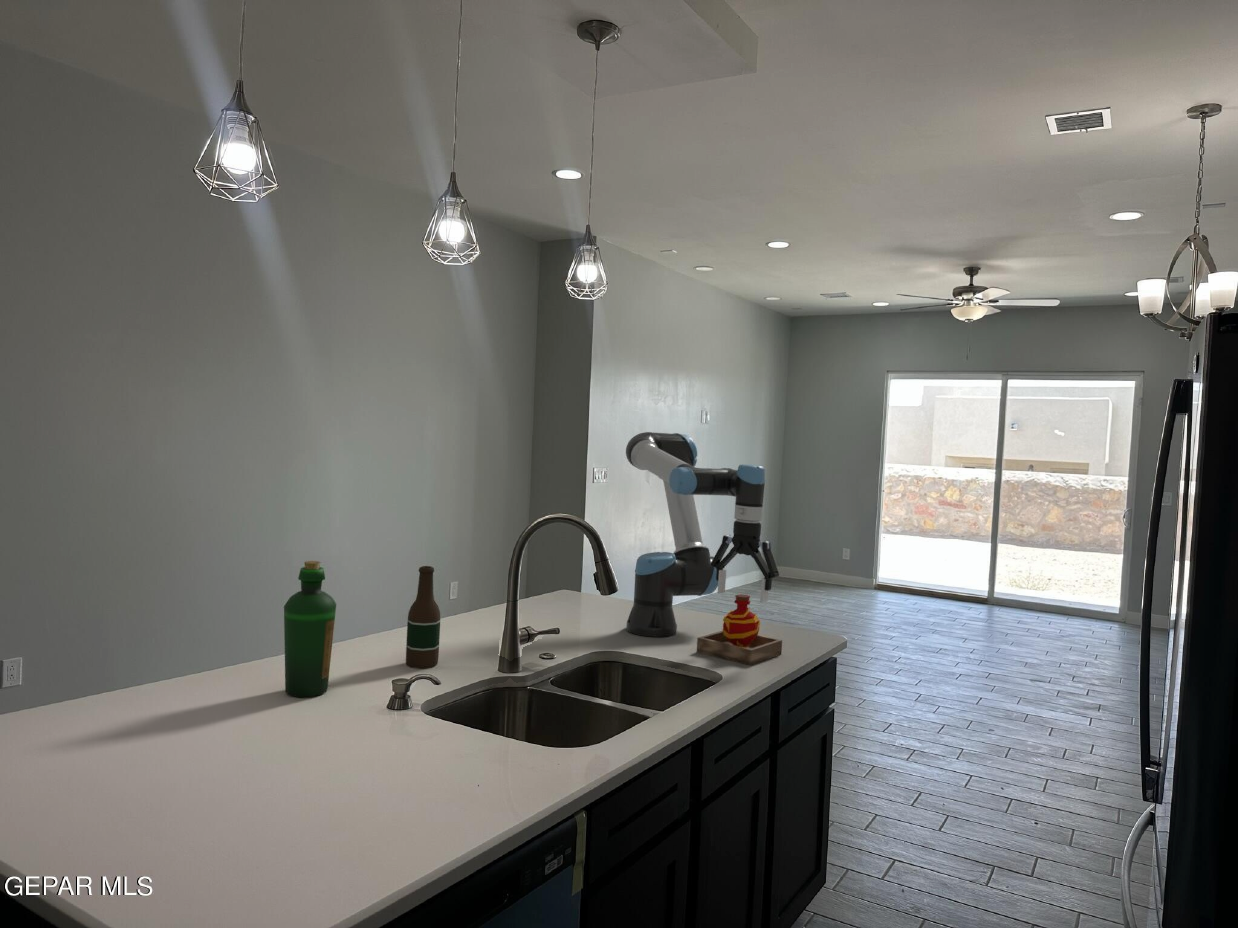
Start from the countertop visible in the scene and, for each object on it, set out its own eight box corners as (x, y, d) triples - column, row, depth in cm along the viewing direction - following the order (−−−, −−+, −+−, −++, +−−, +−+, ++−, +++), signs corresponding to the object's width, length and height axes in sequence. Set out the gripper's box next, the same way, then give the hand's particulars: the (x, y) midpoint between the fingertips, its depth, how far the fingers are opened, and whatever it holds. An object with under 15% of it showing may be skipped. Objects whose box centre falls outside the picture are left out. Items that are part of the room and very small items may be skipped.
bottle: (343, 691, 185) (349, 562, 184) (302, 703, 176) (308, 568, 175) (310, 681, 191) (315, 556, 190) (269, 692, 182) (274, 561, 180)
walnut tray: (696, 651, 236) (697, 637, 236) (728, 642, 249) (729, 628, 249) (750, 665, 226) (751, 650, 225) (781, 654, 239) (782, 640, 239)
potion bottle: (761, 655, 232) (764, 600, 232) (723, 653, 232) (725, 598, 232) (756, 645, 243) (758, 593, 242) (719, 643, 243) (722, 591, 242)
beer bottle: (421, 658, 214) (426, 562, 213) (444, 664, 210) (449, 567, 209) (398, 664, 208) (403, 566, 207) (422, 670, 204) (427, 570, 203)
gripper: (702, 516, 241) (696, 590, 242) (782, 527, 225) (775, 607, 227) (716, 514, 247) (711, 587, 248) (795, 526, 231) (789, 603, 232)
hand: (742, 597), depth 237 cm, fingers open, 13 cm apart
